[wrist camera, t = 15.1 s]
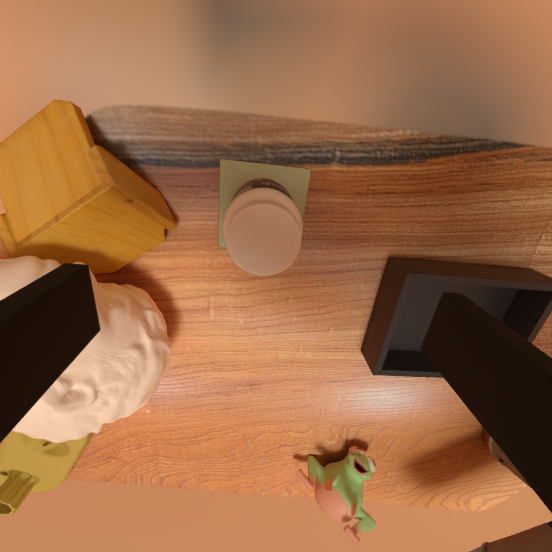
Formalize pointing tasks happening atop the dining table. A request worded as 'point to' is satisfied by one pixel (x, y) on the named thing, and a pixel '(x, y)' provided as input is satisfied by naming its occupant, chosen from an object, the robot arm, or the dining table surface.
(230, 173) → the mat
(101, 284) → the bust
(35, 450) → the plastic component
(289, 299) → the dining table surface
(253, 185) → the pill bottle
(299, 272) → the dining table surface
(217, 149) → the dining table surface
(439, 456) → the dining table surface
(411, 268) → the tote
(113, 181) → the orange boxy piece
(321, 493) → the frog
